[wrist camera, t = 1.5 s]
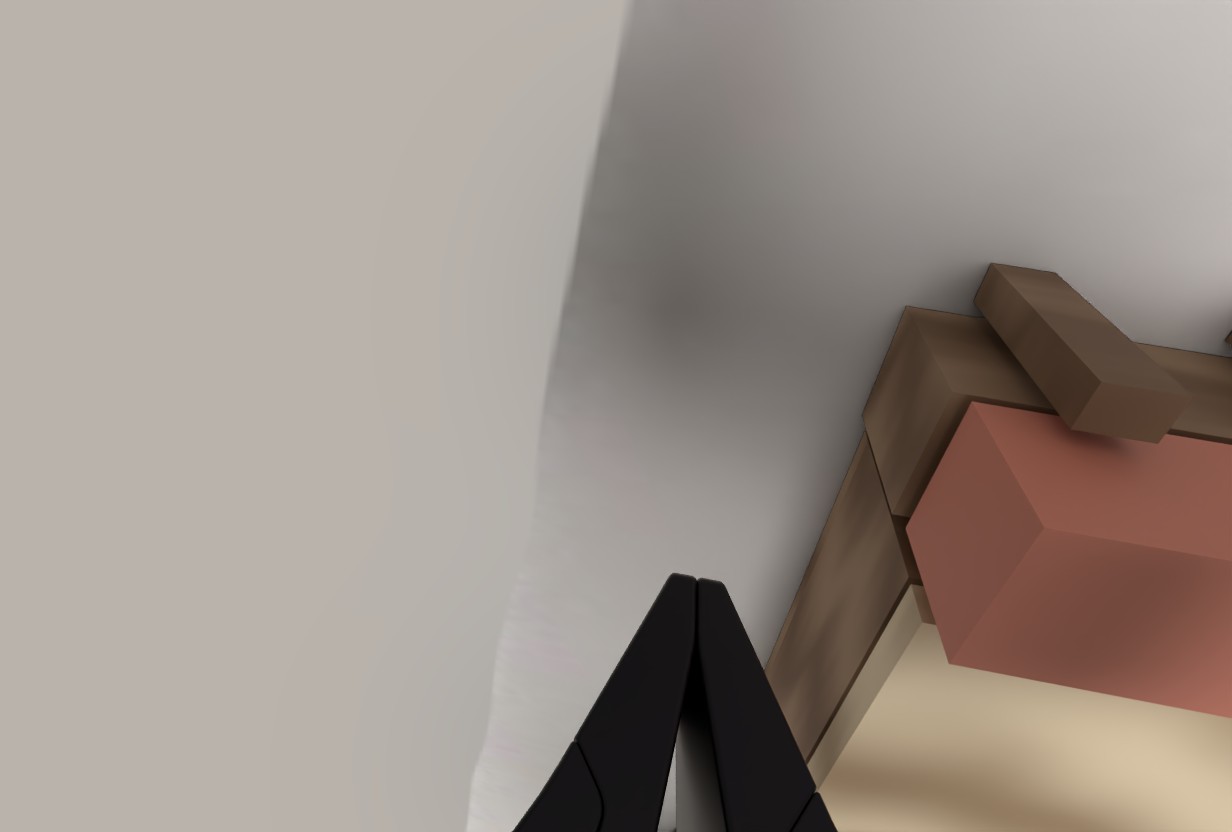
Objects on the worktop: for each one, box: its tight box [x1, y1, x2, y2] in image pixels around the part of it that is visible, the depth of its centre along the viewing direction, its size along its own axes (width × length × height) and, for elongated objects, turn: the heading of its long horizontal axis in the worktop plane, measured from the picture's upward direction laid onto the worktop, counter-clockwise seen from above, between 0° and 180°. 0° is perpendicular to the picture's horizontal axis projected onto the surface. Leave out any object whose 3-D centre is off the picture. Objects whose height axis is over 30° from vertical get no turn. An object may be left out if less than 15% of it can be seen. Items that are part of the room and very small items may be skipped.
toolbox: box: [764, 263, 1232, 765], centre depth 18 cm, size 19×21×6 cm
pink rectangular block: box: [906, 402, 1232, 718], centre depth 12 cm, size 4×9×4 cm, turn 84°
